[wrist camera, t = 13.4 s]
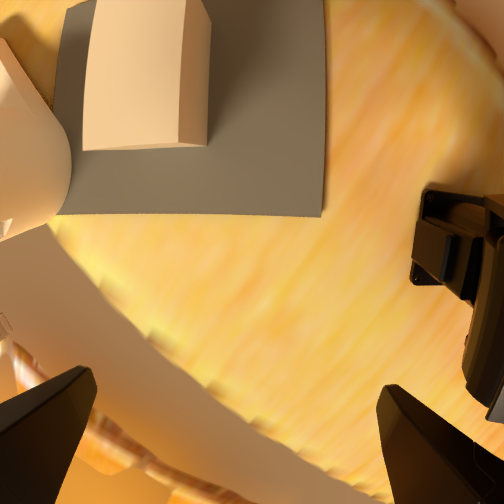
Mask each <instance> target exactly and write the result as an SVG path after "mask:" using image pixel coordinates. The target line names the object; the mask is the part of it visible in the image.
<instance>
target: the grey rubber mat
mask: <svg viewBox="0 0 504 504" xmlns="http://www.w3.org/2000/svg"><path fill="white" fill-rule="evenodd" d="M201 1H202V3H203V5H204V7H205V10H206V12H207V14H208V16H209V18H210V20H211V23H212V26H211V43H210V63H209V88H208V124H207V146H198V147H170V148H152V149H138V150H89V151H83V108H84V91H85V78H86V68H87V59H88V51H89V44H90V37H91V30H92V24H93V19H94V13H95V8H96V3H97V0H91V1H88V2H85V3H82V4H79V5H76V6H73V7H71V8H68V9H67V11H66V15H65V20H64V25H63V30H62V36H61V42H60V48H59V54H58V62H57V70H56V79H55V89H54V103H53V114H54V116H55V117H56V118H57V120H58V121H59V123H60V124H61V125H62V127H63V129H64V131H65V133H66V135H67V138H68V141H69V145H70V151H71V161H72V170H71V179H70V185H69V189H68V193H67V196H66V198H65V201H64V203H63V205H62V207H61V209H60V210H59V212H58V213H57V214H56V215H74V214H232V215H268V216H295V217H317V218H321V210H322V193H323V174H324V149H325V93H326V87H325V33H324V11H323V0H201Z"/></svg>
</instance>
